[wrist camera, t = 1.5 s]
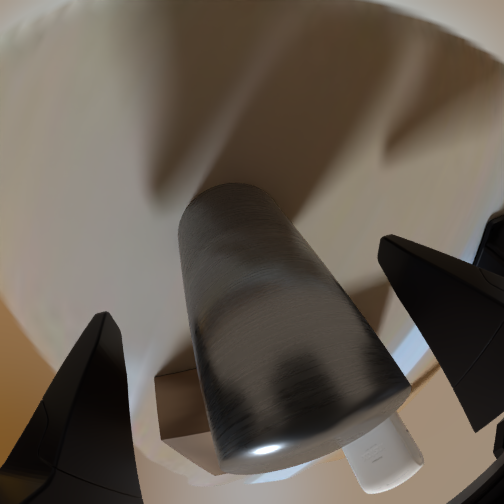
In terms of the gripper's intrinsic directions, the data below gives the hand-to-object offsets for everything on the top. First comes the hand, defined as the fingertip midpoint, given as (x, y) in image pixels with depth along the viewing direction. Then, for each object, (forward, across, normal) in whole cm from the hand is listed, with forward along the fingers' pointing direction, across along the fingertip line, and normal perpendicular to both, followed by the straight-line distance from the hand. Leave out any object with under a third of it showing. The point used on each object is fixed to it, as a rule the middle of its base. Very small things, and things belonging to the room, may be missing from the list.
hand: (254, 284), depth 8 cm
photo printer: (+3, -14, +37) cm, 40 cm away
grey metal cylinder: (+3, 0, 0) cm, 3 cm away
